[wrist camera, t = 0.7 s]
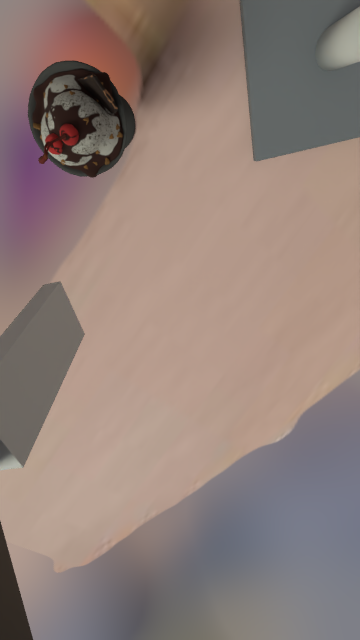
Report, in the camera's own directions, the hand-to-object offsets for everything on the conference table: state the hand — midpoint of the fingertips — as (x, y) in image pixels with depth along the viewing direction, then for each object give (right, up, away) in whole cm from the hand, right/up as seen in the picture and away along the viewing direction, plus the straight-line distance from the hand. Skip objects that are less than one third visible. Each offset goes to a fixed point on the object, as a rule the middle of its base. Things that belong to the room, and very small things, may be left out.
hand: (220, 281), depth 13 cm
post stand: (+11, +21, +14) cm, 28 cm away
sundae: (-8, +17, +17) cm, 26 cm away
